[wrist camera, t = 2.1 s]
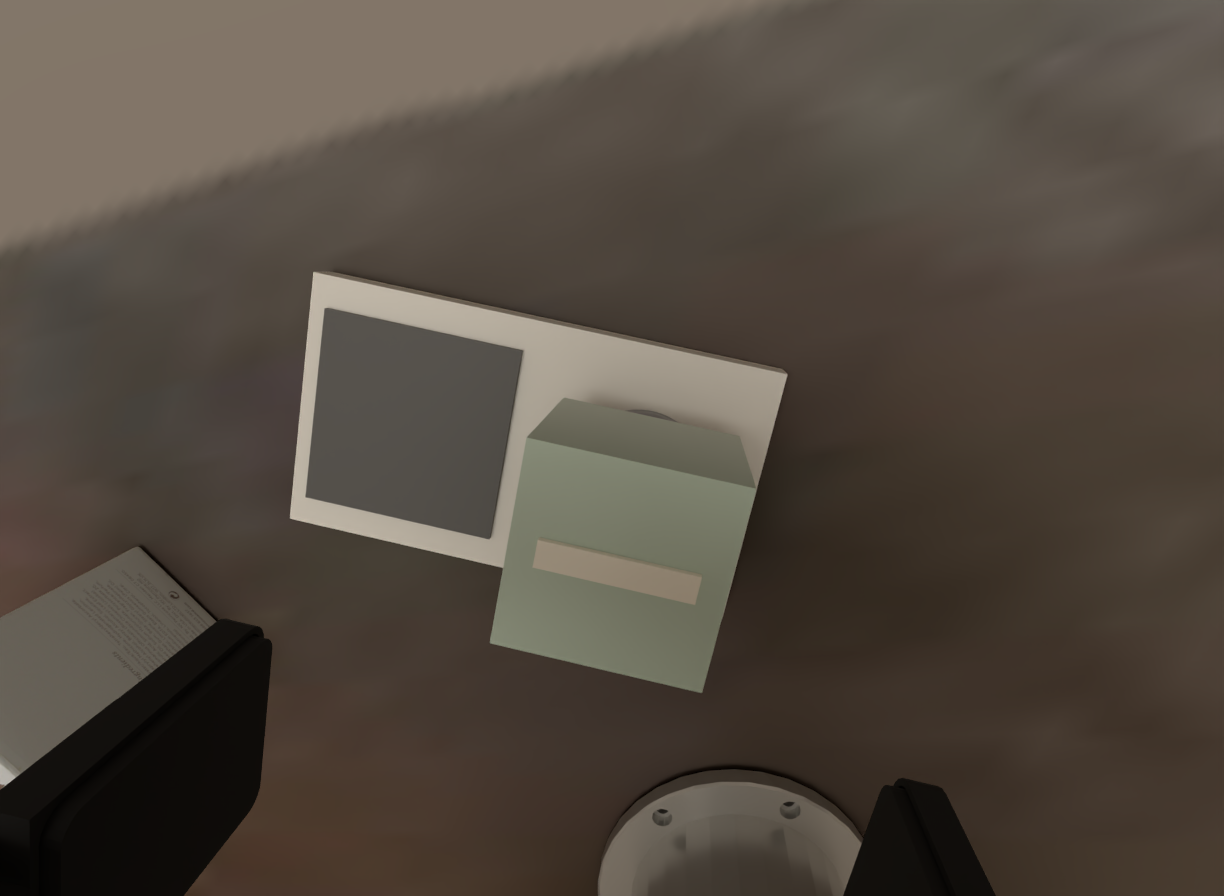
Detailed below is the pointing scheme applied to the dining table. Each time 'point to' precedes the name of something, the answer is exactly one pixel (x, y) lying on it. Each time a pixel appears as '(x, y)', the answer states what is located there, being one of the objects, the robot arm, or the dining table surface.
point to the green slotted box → (623, 543)
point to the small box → (86, 651)
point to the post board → (476, 408)
